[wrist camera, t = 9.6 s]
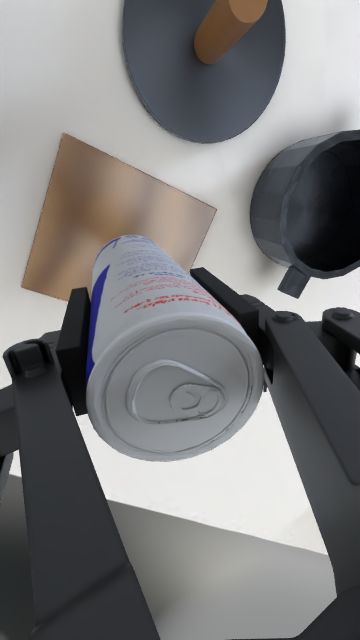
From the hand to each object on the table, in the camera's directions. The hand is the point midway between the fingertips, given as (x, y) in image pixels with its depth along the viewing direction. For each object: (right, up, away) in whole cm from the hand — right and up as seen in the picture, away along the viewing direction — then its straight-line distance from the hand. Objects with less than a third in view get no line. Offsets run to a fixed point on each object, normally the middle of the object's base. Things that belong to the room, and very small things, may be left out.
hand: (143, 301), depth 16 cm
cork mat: (-4, +7, +15) cm, 17 cm away
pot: (+16, +12, +18) cm, 28 cm away
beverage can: (-2, +3, +6) cm, 7 cm away
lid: (+4, +23, +10) cm, 25 cm away
